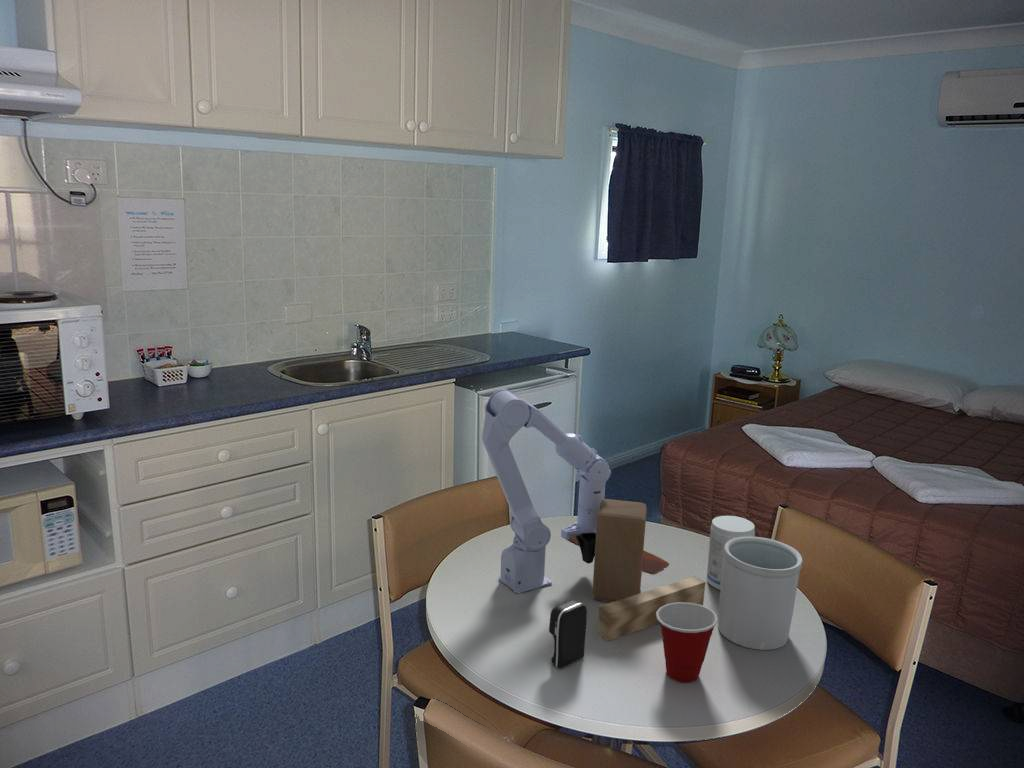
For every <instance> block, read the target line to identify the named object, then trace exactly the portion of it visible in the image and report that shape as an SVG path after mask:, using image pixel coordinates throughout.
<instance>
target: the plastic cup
mask: <svg viewBox="0 0 1024 768" xmlns="http://www.w3.org/2000/svg"><path fill="white" fill-rule="evenodd" d="M656 615H657V620H658V621H659V623H658V624H659V625H660V626H659V627H660V630H661V635H662V643H663V653H664V659H665V660H664V661H665V668H666V669H665V670H666V674H667V675H668V677H669V678H671V679H672V680H674V681H676V682H678V683H686V684H688V683H693V682H695V681H697V680H698V677H699V676H700V673H701V670H702V666H703V663H704V662H705V658H706V654H707V651H708V648H709V643H710V639H711V637H712V635H713V631H714V629H715V626H716V625H717V624H718V615H717V613H715V612H714V611H713V610H712V609H711V608H709V607H706V606H704V605H703V606H702V605H699V604H694V603H685V602H677V603H671V604H667V605H664V606H662V607H660V608H659V609H658V611H657V612H656Z"/></svg>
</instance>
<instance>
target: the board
mask: <svg viewBox="0 0 1024 768" xmlns="http://www.w3.org/2000/svg"><path fill="white" fill-rule="evenodd" d="M705 587H706V581H704V580H703V579H701V578H699V577H698V576H695V575H693V576H692V577H691V576H690V577H687V578H685V579H682V580H679V581H676V582H675V581H674V582H672V583H669V584H666V585H663V586H662V585H661V586H659V587H657V588H653V589H650V590H647V591H644V592H640V594H637V595H634V596H631V597H628V598H624V599H621V600H618V601H615V602H609V603H607V604H603V605H600V606H599V613H598V614H599V615H598V626H597V627H598V628H597V629H598V630H597V634H598V635H599V636H600V635H601V636H600V637H602V638H603V639H604V638H605V641H607V642H609V641H611V640H614V639H618V638H620V636H621V637H624V636H626V635H629V634H633V633H634V632H637V630H638V631H641V630H643V628H644V629H646V628H649V627H652V626H655V625H658V624H660V623H659V621H658V620H657V615H656V612H657V611H658V609H659V608H660V607H662V606H664V605H667V604H671V603H677V602H685V603H694V604H699V605H702V606H704V599H705V590H706V588H705ZM640 629H641V630H640Z"/></svg>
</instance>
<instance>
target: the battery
mask: <svg viewBox="0 0 1024 768" xmlns="http://www.w3.org/2000/svg"><path fill="white" fill-rule="evenodd" d="M587 618H588V608H587V606H586V605H585V604H584V603H583V602H579V601H578V600H576V599H570V600H566V601H565V602H562V603H559V604H558V605H556V606H555V607H553V608H552V609H551V611H550V615H549V626H548V627H549V629H548V631H549V634H551V635H552V636H553V641H554V644H553V645H554V646H553V649H554V652H553V656H552V657H551V658H550V662H551V664H552V665H554V667H556V668H557V669H560V670H561V669H563V668H565V667H567V666H571V665H572V664H573V663H576V662H578V661H579V660H580V659H583V658H584V657H585V646H586V645H585V644H586V634H587V621H588V619H587Z"/></svg>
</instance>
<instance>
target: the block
mask: <svg viewBox="0 0 1024 768" xmlns="http://www.w3.org/2000/svg"><path fill="white" fill-rule="evenodd" d="M647 510H648V507H647V505H646V503H643V502H641V501H640V502H638V501H629V500H619V499H610V498H604V499H603V500H602V501H601V503H600V507H599V511H598V515H597V526H596V542H595V556H594V559H593V562H594V563H593V575H592V592H591V595H592V599H594V600H596V601H601V602H603V601H604V602H609V603H612V602H615V601H618V600H621V599H624V598H628V597H631V596H634V595H637V594H640V593H641V587H642V572H643V571H642V562H643V550H644V548H645V538H646V537H645V533H646V523H647V522H646V521H647ZM644 551H645V550H644Z"/></svg>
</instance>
